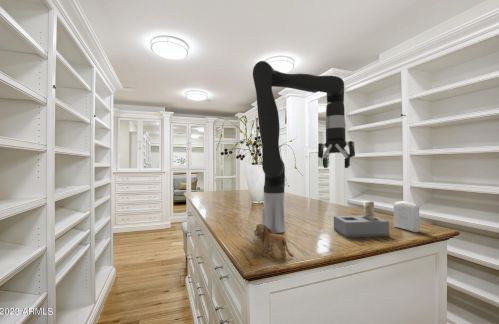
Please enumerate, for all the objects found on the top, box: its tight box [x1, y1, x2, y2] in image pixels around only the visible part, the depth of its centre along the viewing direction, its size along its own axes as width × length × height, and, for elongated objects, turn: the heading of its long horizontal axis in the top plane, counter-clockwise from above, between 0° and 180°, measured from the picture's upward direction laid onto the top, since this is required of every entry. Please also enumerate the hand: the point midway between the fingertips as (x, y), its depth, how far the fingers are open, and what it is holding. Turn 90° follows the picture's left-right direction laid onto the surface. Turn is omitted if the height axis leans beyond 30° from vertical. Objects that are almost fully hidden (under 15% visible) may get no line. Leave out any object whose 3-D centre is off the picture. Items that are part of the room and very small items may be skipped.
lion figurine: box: [253, 223, 294, 260], centre depth 79 cm, size 15×5×9 cm, turn 52°
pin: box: [363, 200, 375, 220], centre depth 102 cm, size 4×4×12 cm
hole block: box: [333, 214, 390, 238], centre depth 101 cm, size 18×12×6 cm, turn 93°
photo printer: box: [393, 200, 420, 233], centre depth 106 cm, size 10×4×12 cm, turn 23°
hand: (335, 167), depth 95 cm, fingers open, 8 cm apart
